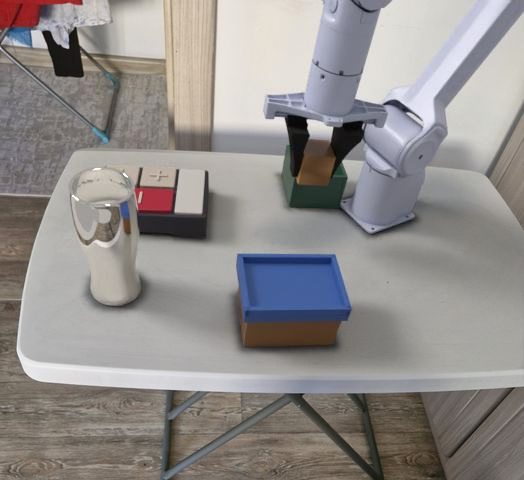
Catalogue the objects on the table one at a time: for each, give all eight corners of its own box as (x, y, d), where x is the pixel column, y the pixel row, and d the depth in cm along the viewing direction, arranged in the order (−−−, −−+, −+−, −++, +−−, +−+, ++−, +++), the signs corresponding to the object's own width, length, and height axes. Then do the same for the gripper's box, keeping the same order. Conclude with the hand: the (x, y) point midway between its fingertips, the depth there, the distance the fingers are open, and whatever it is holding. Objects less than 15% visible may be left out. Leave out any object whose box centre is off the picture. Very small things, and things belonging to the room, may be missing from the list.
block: (321, 168, 70) (329, 140, 67) (327, 186, 67) (336, 157, 64) (292, 166, 69) (298, 138, 66) (297, 184, 67) (304, 155, 63)
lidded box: (323, 294, 69) (335, 254, 64) (337, 347, 64) (352, 309, 58) (232, 294, 67) (237, 253, 62) (239, 350, 62) (245, 310, 56)
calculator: (103, 160, 75) (208, 165, 76) (108, 186, 79) (209, 190, 80) (89, 208, 68) (205, 213, 70) (95, 234, 72) (206, 238, 73)
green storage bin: (328, 177, 86) (336, 146, 82) (339, 208, 81) (348, 177, 77) (281, 175, 85) (286, 144, 80) (288, 207, 80) (294, 175, 76)
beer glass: (143, 268, 68) (136, 165, 56) (145, 307, 64) (137, 206, 52) (87, 269, 67) (67, 165, 55) (86, 310, 63) (64, 207, 51)
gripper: (278, 74, 53) (259, 189, 64) (410, 87, 56) (371, 194, 67) (268, 44, 58) (252, 156, 68) (391, 58, 61) (357, 163, 71)
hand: (310, 173), depth 68 cm, fingers closed on block, 4 cm apart
